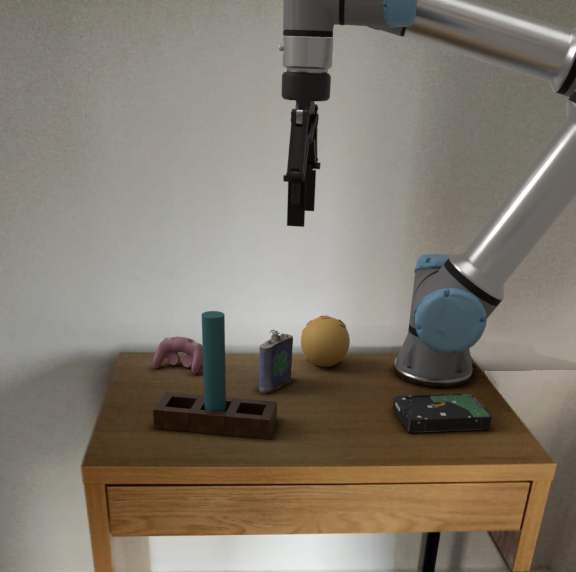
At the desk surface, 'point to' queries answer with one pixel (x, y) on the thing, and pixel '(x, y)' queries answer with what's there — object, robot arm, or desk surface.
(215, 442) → the desk surface
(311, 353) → the stress ball
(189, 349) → the video game controller
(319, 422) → the desk surface
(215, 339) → the dowel
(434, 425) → the disk drive
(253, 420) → the pen block
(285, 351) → the flask
